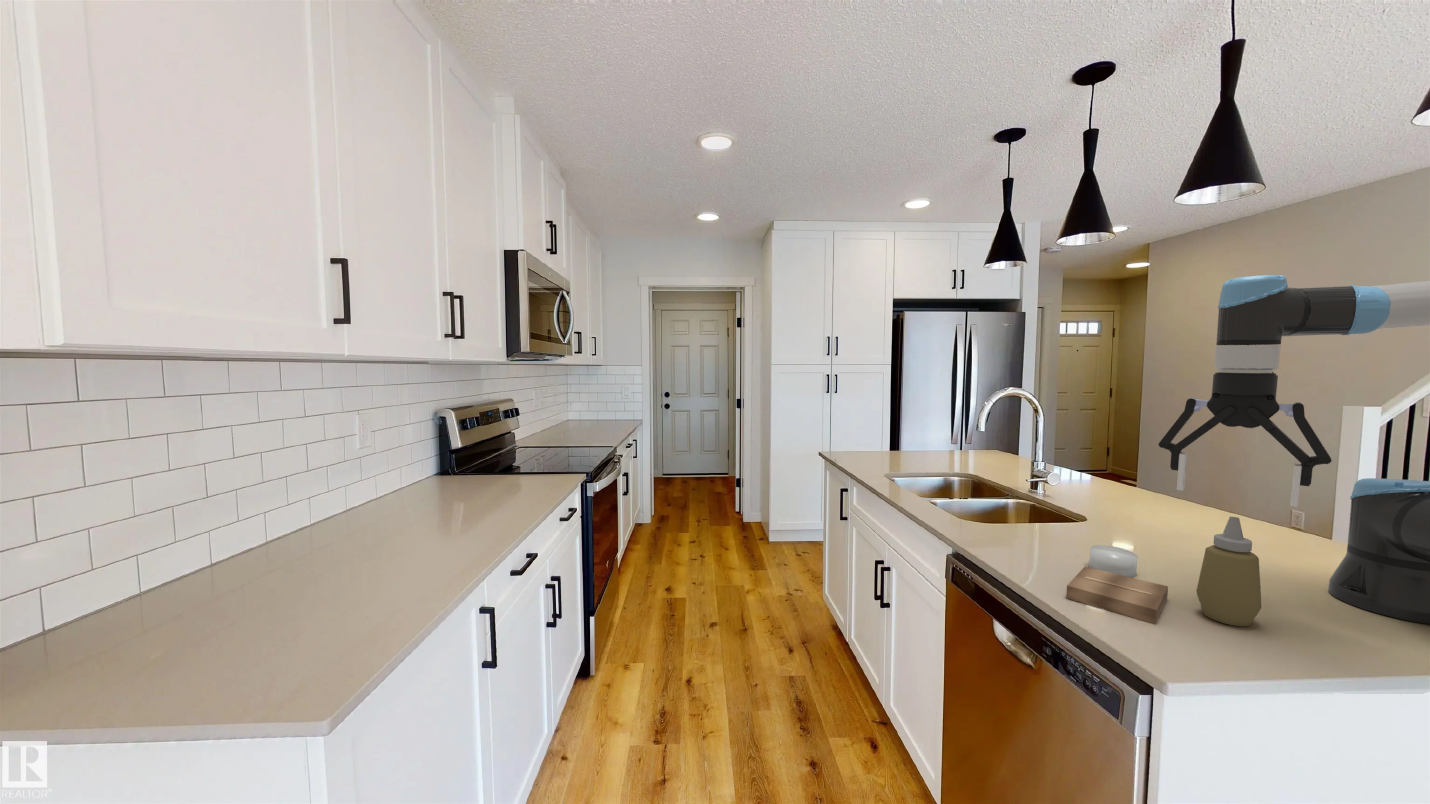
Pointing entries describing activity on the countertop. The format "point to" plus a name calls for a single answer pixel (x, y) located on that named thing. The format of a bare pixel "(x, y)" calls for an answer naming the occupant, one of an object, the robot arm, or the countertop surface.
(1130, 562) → the white dome cap
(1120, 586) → the plate
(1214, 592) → the squeeze bottle
